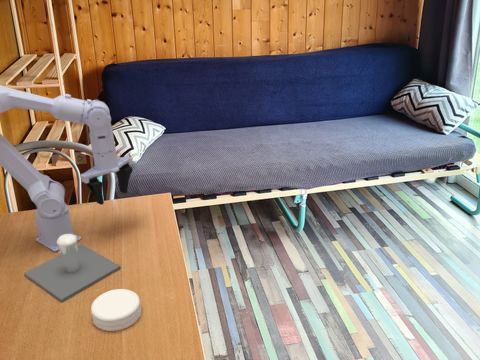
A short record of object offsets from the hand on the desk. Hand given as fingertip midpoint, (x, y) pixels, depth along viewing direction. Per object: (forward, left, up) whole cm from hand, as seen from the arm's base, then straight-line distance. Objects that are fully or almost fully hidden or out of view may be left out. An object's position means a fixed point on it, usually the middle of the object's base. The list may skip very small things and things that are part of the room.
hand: (112, 197), depth 133 cm
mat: (+7, -18, -10) cm, 22 cm away
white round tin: (+28, -21, -11) cm, 37 cm away
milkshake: (+7, -18, -10) cm, 22 cm away
